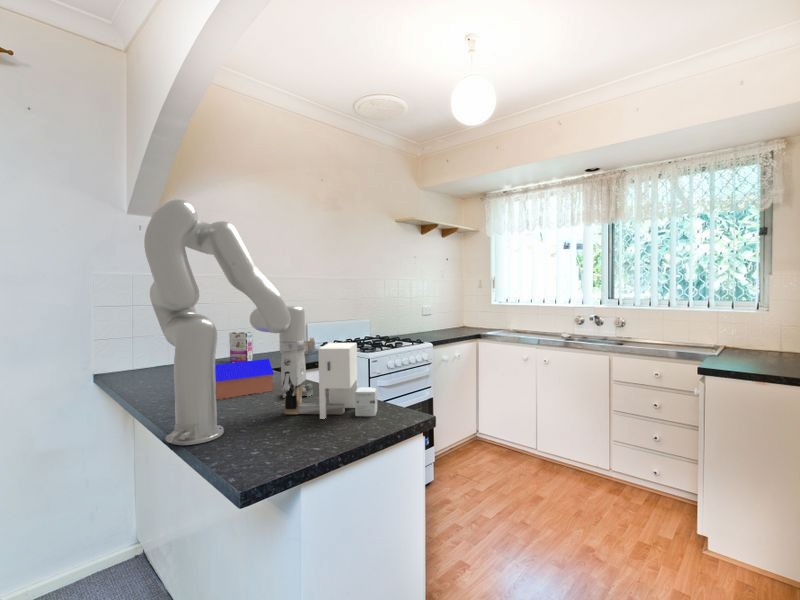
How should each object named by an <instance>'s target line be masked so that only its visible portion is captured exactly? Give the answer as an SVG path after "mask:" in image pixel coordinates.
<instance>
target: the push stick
mask: <svg viewBox="0 0 800 600" xmlns="http://www.w3.org/2000/svg"><path fill="white" fill-rule="evenodd" d="M302 385H303V384H301V385H298V386H296V387H295V395H296V401H297V408H296V409H286V406H285V405H284V415H320V402H317V403H315V402H314V403H312V402H307V403H306V402H303V401H302V400H303V397H302ZM290 388H291V389H292V388H293V387H290ZM284 395H285V391H284ZM345 409H346V408H345V404H329V402H328V403H327V402H326V415H344V413H345V411H346V410H345Z"/></svg>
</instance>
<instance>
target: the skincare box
mask: <svg viewBox="0 0 800 600" xmlns="http://www.w3.org/2000/svg"><path fill="white" fill-rule="evenodd" d="M354 410H355V414H354V415H355V417H375V416H376V415H377V412H378V386H377V387H374V386H373V387H370V386H369V387H368V386H367V387H365V386H363V387H361V386H360V387H358V389H357V390H356V392H355V408H354Z"/></svg>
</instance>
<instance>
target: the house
mask: <svg viewBox="0 0 800 600" xmlns="http://www.w3.org/2000/svg"><path fill="white" fill-rule="evenodd" d="M215 374H216V400H217V399H220V400H224V399H223V398H226V399H230V398H229V397H233V398H236V397H235V396H239V397H243V396H242V395H246V396H249V395H248V394H252V395H254V394H253V393H259V394H261V393H260V392H265V393H267V392H266V391H272V392H274V379H273V378H274V377H273V376H274V375H275V373H274V370H273V367H272V365H271V361H270V359H269V358H265V359H257V360H256V359H255V360H254V359H253V361H244V362H235V363H230V362H226V363H218V364H216V363H215Z"/></svg>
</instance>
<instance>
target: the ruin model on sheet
mask: <svg viewBox="0 0 800 600" xmlns="http://www.w3.org/2000/svg"><path fill="white" fill-rule="evenodd" d="M315 353H316V342H315V339H314V337H309V340H305V351H304V355H307V354H308V355H309V354H315Z"/></svg>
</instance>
